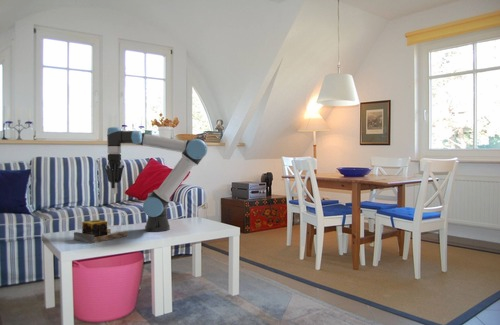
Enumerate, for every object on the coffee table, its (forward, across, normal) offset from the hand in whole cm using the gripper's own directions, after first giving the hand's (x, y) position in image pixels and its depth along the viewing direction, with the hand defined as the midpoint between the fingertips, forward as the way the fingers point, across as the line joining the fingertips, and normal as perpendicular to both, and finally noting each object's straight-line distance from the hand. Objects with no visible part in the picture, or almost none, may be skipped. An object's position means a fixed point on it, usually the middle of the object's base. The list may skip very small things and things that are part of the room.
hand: (114, 193), depth 234 cm
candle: (+24, +16, +2) cm, 29 cm away
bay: (+24, +11, +1) cm, 26 cm away
